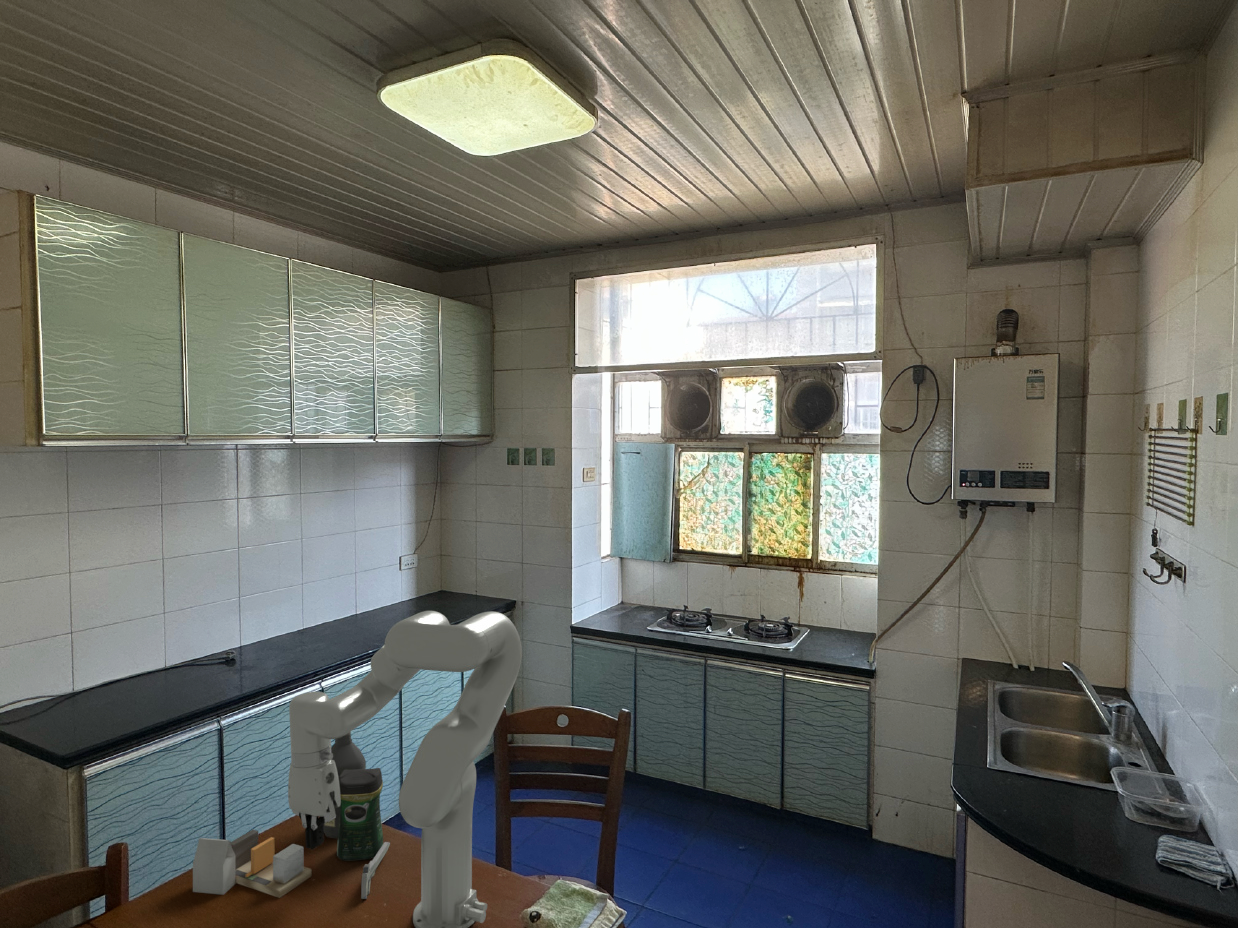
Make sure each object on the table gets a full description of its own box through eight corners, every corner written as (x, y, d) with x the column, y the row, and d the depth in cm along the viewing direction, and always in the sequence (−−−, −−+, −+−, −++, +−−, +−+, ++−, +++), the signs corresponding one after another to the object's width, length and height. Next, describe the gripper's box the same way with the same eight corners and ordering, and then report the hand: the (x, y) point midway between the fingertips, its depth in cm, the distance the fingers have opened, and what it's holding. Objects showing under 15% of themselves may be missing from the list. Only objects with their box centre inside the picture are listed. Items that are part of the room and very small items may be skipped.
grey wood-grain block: (303, 870, 148) (303, 846, 148) (283, 883, 143) (283, 859, 143) (293, 866, 149) (293, 843, 149) (273, 879, 144) (273, 855, 144)
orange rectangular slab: (274, 860, 151) (274, 837, 151) (248, 877, 145) (248, 853, 145) (271, 859, 152) (271, 836, 151) (244, 876, 146) (244, 852, 145)
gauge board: (311, 875, 149) (311, 843, 149) (279, 897, 142) (279, 863, 142) (256, 858, 155) (256, 827, 155) (224, 878, 148) (224, 845, 148)
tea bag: (223, 894, 143) (223, 845, 143) (192, 891, 144) (192, 843, 143) (235, 883, 146) (235, 835, 146) (205, 880, 147) (205, 833, 147)
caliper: (366, 901, 141) (366, 870, 141) (361, 901, 141) (361, 870, 141) (390, 844, 162) (390, 817, 162) (385, 844, 162) (385, 817, 161)
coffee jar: (386, 841, 162) (386, 761, 162) (378, 861, 155) (378, 777, 154) (342, 843, 161) (342, 763, 161) (332, 863, 154) (332, 779, 153)
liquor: (359, 814, 175) (359, 693, 174) (367, 830, 167) (367, 705, 166) (319, 824, 170) (319, 700, 169) (326, 841, 162) (326, 712, 162)
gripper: (353, 752, 144) (356, 842, 144) (299, 743, 150) (302, 829, 150) (325, 768, 137) (328, 862, 137) (269, 758, 143) (272, 848, 143)
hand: (315, 844), depth 143 cm, fingers closed
